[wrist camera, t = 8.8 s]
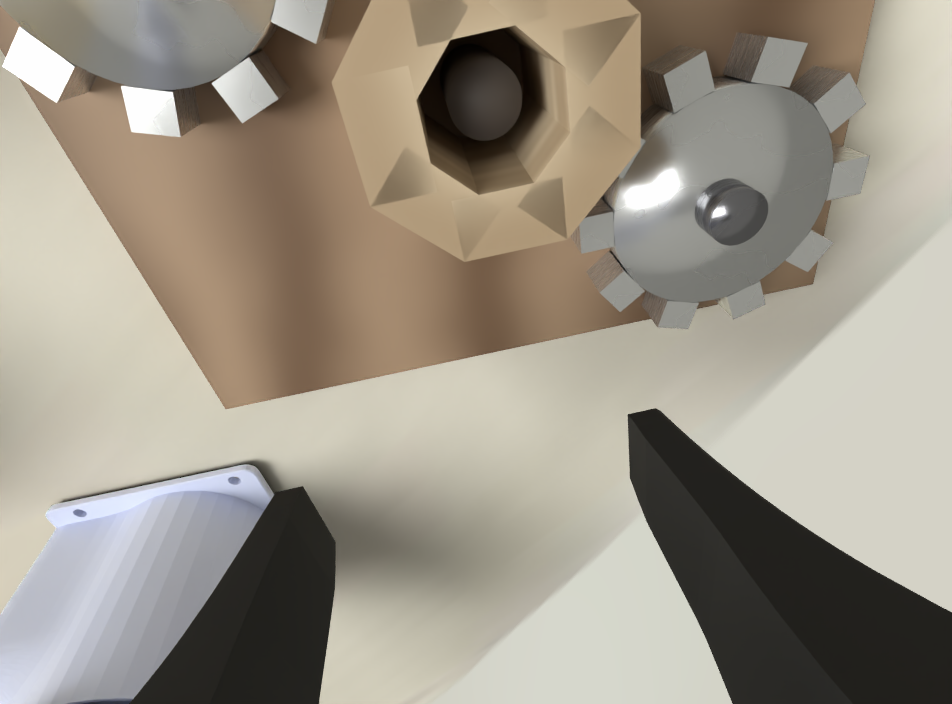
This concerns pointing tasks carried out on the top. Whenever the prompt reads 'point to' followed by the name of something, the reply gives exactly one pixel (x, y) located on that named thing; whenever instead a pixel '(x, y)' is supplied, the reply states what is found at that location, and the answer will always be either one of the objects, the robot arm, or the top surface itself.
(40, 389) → the top surface
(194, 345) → the gear board
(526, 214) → the octagonal wooden tube
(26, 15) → the gear
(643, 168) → the gear
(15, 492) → the top surface
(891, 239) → the top surface
